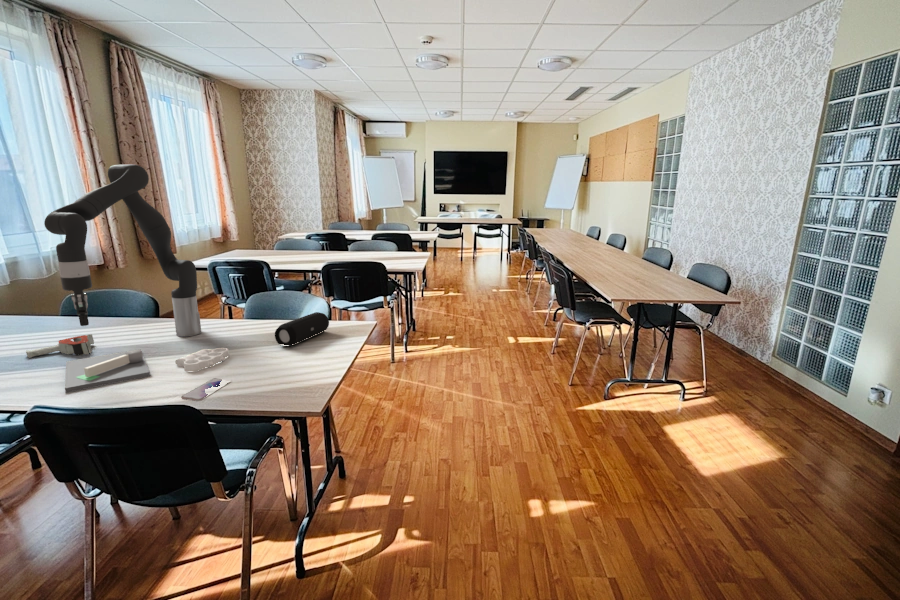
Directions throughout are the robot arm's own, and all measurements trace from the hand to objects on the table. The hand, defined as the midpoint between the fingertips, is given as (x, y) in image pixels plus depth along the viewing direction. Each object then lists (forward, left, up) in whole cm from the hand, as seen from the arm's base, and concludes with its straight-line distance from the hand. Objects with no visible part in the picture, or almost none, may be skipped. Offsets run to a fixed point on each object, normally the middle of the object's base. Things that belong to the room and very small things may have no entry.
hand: (84, 325), depth 147 cm
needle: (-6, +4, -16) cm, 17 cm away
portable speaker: (-72, +6, -18) cm, 75 cm away
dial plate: (-4, 0, -17) cm, 18 cm away
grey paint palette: (-32, +11, -18) cm, 39 cm away
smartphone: (-28, +37, -18) cm, 50 cm away
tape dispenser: (+7, -31, -18) cm, 37 cm away
